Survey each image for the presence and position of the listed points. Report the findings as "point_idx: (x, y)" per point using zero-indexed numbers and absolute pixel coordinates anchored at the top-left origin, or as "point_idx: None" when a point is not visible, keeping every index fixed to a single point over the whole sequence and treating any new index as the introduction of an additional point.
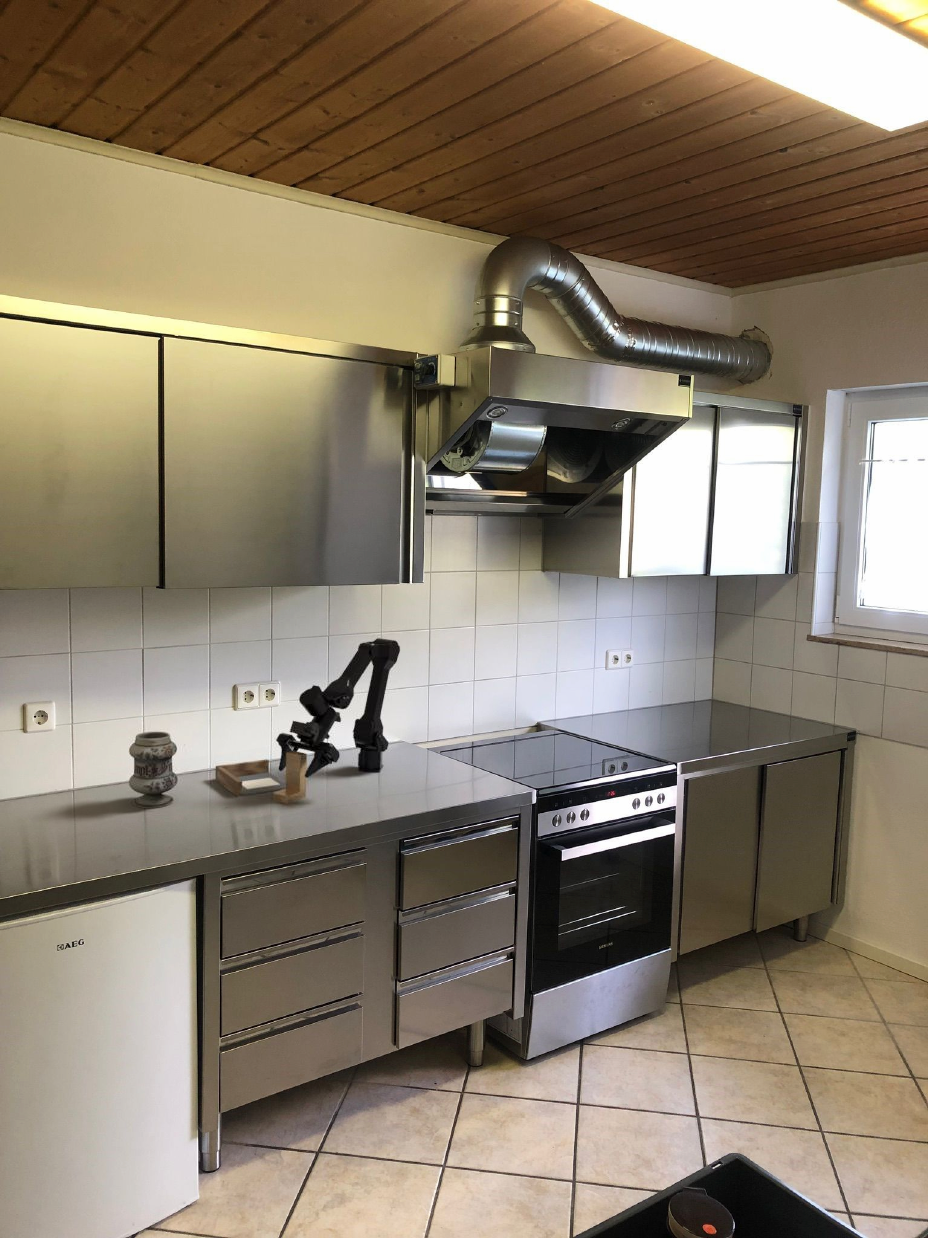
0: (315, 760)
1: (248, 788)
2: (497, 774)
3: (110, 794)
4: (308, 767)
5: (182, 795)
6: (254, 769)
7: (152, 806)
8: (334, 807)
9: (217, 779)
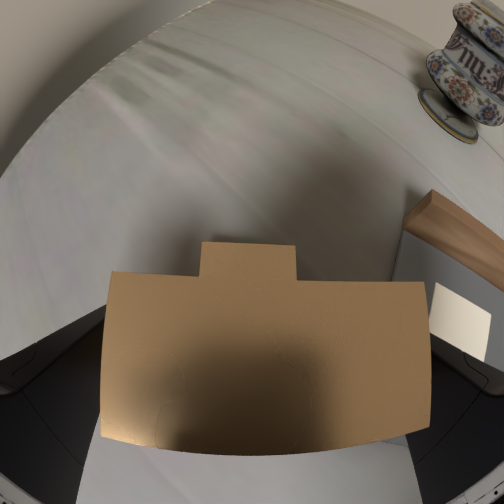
0: (1, 365)
1: (439, 289)
2: None
3: (497, 130)
4: (82, 332)
5: (467, 163)
6: None
7: (421, 90)
8: (37, 327)
9: None
